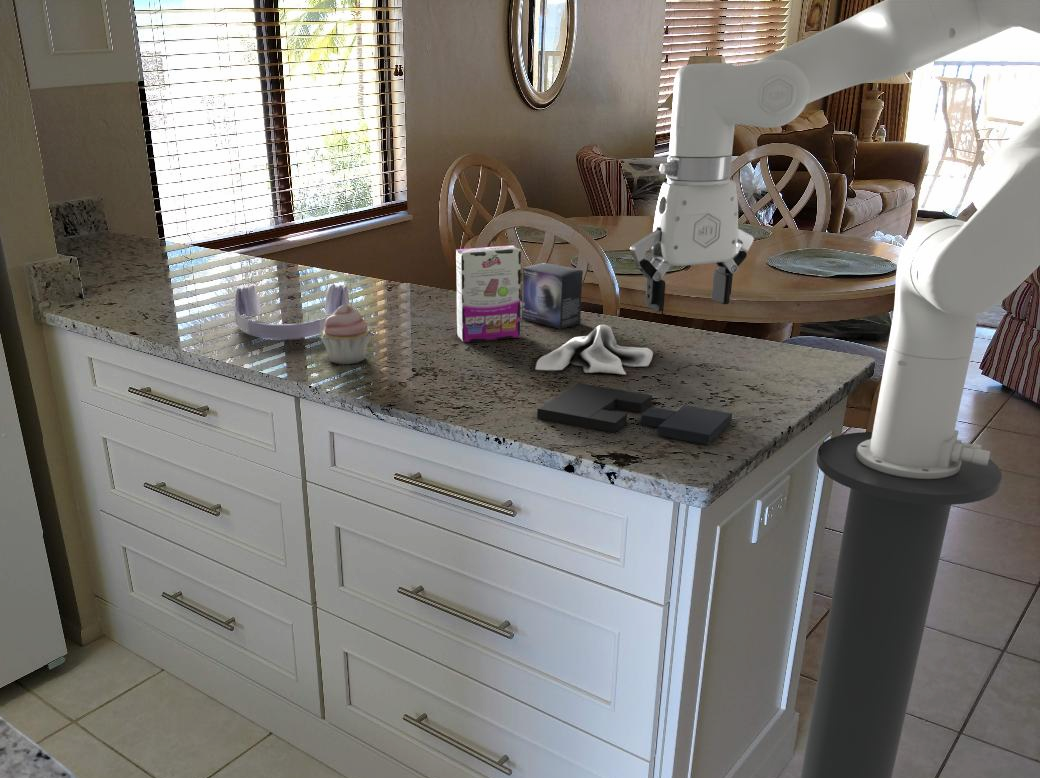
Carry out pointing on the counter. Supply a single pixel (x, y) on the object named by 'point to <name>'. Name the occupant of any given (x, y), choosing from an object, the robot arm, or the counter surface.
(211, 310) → the counter surface
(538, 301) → the small box
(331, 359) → the cupcake
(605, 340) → the cloth
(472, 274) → the candy bar box
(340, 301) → the headphones
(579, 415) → the black notched block
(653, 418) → the charcoal pad
